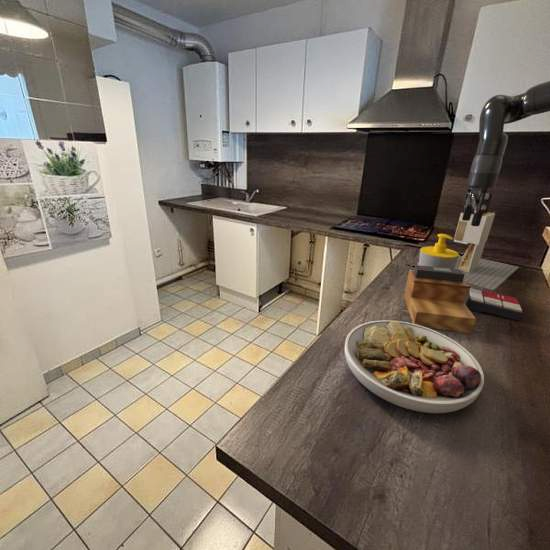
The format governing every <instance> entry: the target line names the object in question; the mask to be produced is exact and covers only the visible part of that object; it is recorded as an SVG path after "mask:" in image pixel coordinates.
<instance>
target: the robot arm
mask: <svg viewBox="0 0 550 550" xmlns="http://www.w3.org/2000/svg"><path fill="white" fill-rule="evenodd" d="M548 112H550V80H548V81H544V82H541V83H538V84H536V85H534V86H532V87H530V88H528V89H527V90H526V91H525V92H523V93H520V94H517V95H506V94H496V95H493V96H492V97H490V98H489V99H488V100H487V101H486V102H485V103H484V105H483V107H482V109H481V111H480V115H479V125H478V126H479V128H478V136H479V137H478V138H479V140H478V143H477V147H476V151H475V155H474V157H473V160H472V163H471V166H470V170H469V174H468V177H467V182H466V186H467V189H466V191H465V195H464V198H463V202H462V207H463V212H462V213H463V217H462V220H464V221H469V220H470V217H471V214H473V219H472V222H471V225H472V226H479V225H480V222H481V219H482V214H484V213H487V212H488V211H489V208H490V205H491V201H492V197H493V193H492V192H488V190H489V189H492V188H495V187H496V184H497V181H498V179H499V175H500V171H501V168H502V163H503V158H504V155H505V151H506V147H507V145H508V140H509V135H508V134H506V133H505V132H504V130H505V129H504V128H505V125H506V124H507V125H508V124H512V123H515V122H518V121H521V120H524V119H527V118H529V117H531V116H535V115H540V114H543V113H548Z"/></svg>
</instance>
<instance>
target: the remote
mask: <svg viewBox="0 0 550 550" xmlns="http://www.w3.org/2000/svg"><path fill="white" fill-rule="evenodd" d="M413 270H414V271H413V273H414V275H415V277H416V278H425V279H435V280H444V281H454V282H463V279H464V275H465V274H464V273H463V272H462V271H461V270H460V269H452V268H441V267H430V266H419V265H415V267H413Z"/></svg>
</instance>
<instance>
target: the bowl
mask: <svg viewBox="0 0 550 550" xmlns="http://www.w3.org/2000/svg"><path fill="white" fill-rule="evenodd" d="M344 356H345V360H346V363H347V365H348V367H349V369H350V371H351V372H352V374H353V376H355V378H356V379H357V380H358V381H359V382H360V384H362V385H363V386H364V387H365V388H366V389H368V390H369V391H370V392H372V394H374V395H376V396H378V397H379V398H381V399H382V400H384V401H386V402H388V403H390V404H392V405H395V406H397V407H400V408H403V409H407V410H410V411H415V412H419V413H428V414H446V413H452V412H456V411H460V410H462V409H464V408H466V407H469V405H471V404H473V402H475V401H476V399H477V398H478V397H479V396H480V394H481V393H482V390H483V387H484V385H485V374H484V371H483V368H482V367H481V365H480V363H479V361H478V360H477V359H476V358H475V356H474V355H473V354H472V353H471V352H470V351H468V349H466V348H465V347H464V346H463V345H461V344H460V343H458V342H457V341H456V340H454V339H452V338H451V337H449V336H447V335H445V334H443V333H441V332H439V331H437V330H435V329H433V328H428V327H423V326H420V325H416V324H413V322H407V321H402V320H401V321H400V320H388V319H381V320H371V321H367V322H364V323H362V324H359V325H357V326H355V327H354V328H353V329H351V330H350V331H349V332H348V334H347V336H346V338H345V341H344Z"/></svg>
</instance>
